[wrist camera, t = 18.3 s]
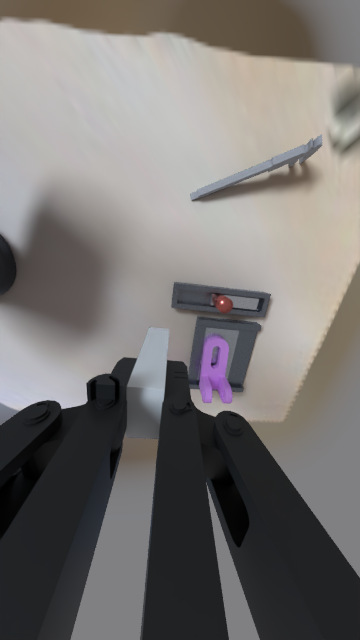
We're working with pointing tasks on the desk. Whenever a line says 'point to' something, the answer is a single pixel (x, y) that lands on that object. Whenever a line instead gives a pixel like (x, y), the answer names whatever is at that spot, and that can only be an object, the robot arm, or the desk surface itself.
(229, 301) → the lever
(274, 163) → the caliper
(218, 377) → the bracket
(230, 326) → the press bed
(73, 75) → the desk surface
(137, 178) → the desk surface
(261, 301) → the frame
